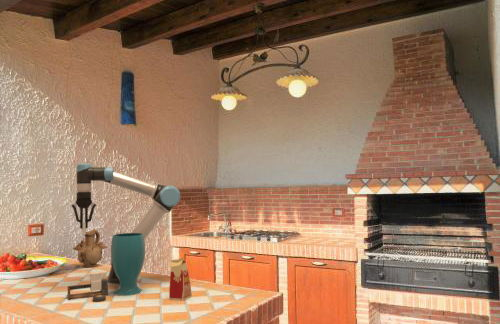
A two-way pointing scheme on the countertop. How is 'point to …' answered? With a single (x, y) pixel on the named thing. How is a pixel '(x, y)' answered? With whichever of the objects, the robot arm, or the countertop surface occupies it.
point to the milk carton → (179, 281)
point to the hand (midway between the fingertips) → (83, 234)
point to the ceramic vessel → (90, 249)
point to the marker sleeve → (95, 281)
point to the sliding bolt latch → (88, 294)
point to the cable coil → (99, 298)
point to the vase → (128, 261)
